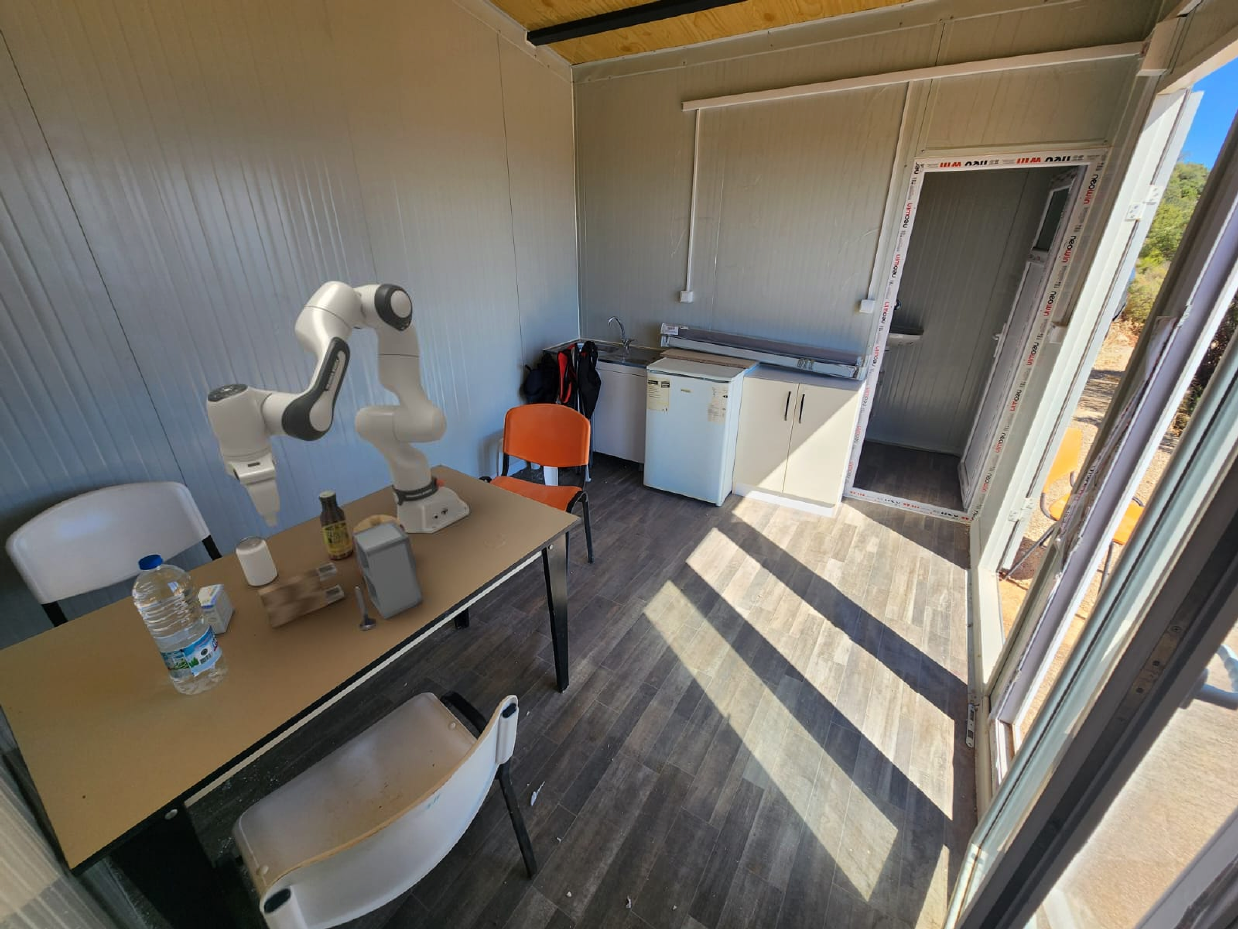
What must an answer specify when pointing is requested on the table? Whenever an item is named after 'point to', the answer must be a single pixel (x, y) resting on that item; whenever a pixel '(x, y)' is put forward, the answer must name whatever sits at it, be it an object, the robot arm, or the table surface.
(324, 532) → the sauce bottle
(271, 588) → the door
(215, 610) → the medicine box
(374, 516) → the canister
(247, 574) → the can
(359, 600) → the hinge post
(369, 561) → the cabinet
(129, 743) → the table surface
